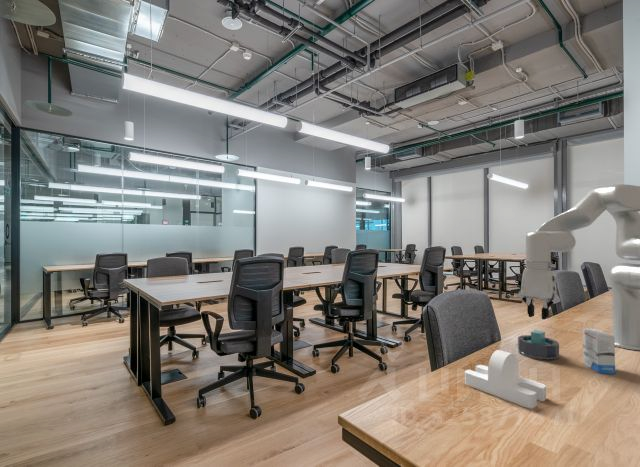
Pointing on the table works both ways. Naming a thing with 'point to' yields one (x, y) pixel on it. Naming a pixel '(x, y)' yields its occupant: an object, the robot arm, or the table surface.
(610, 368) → the ink box
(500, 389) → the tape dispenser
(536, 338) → the cap
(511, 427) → the table surface
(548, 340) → the grey round hollow piece
